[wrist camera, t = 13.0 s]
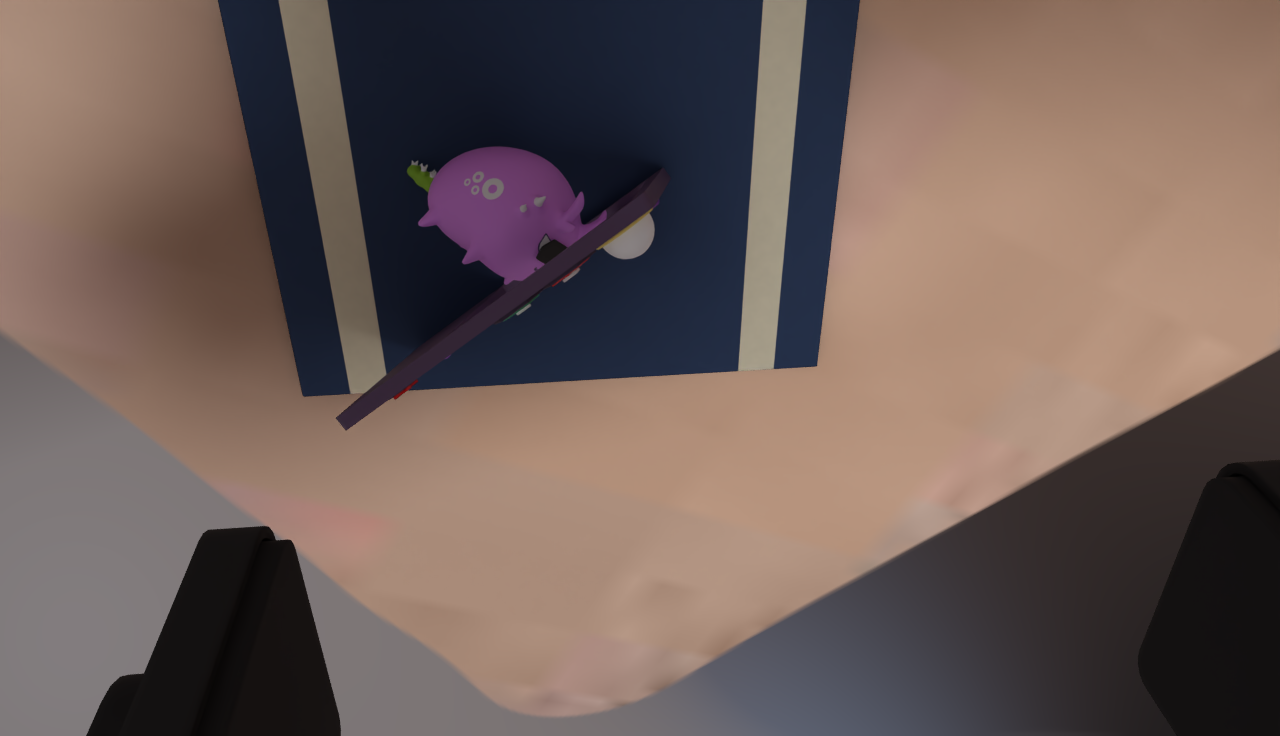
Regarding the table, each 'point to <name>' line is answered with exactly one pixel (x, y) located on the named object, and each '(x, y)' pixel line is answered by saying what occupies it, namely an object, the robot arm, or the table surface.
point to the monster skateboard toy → (512, 243)
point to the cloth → (578, 147)
